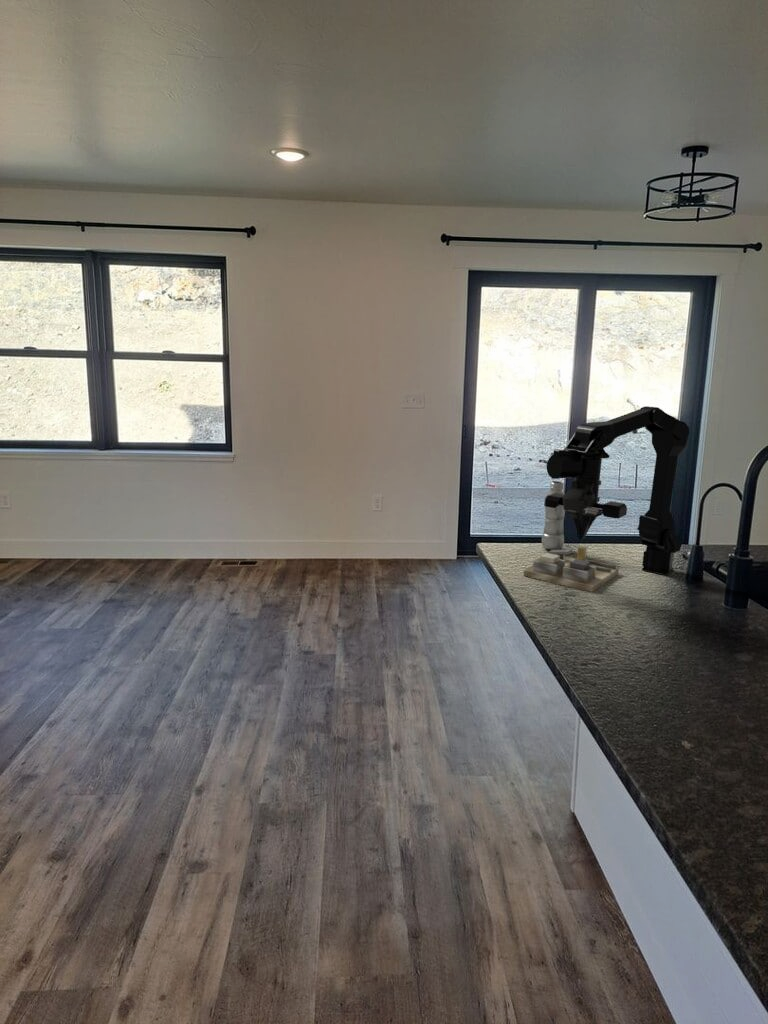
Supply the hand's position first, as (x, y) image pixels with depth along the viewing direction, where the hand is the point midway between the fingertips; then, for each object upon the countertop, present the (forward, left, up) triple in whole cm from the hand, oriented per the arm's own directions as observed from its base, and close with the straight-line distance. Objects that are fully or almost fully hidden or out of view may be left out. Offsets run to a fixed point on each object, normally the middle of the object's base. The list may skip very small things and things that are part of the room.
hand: (581, 539), depth 158 cm
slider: (+4, -11, -9) cm, 15 cm away
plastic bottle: (+18, -24, -11) cm, 32 cm away
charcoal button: (0, 0, -8) cm, 8 cm away
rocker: (+10, -11, -8) cm, 16 cm away
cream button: (+8, 0, -8) cm, 11 cm away
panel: (+4, -5, -11) cm, 13 cm away
